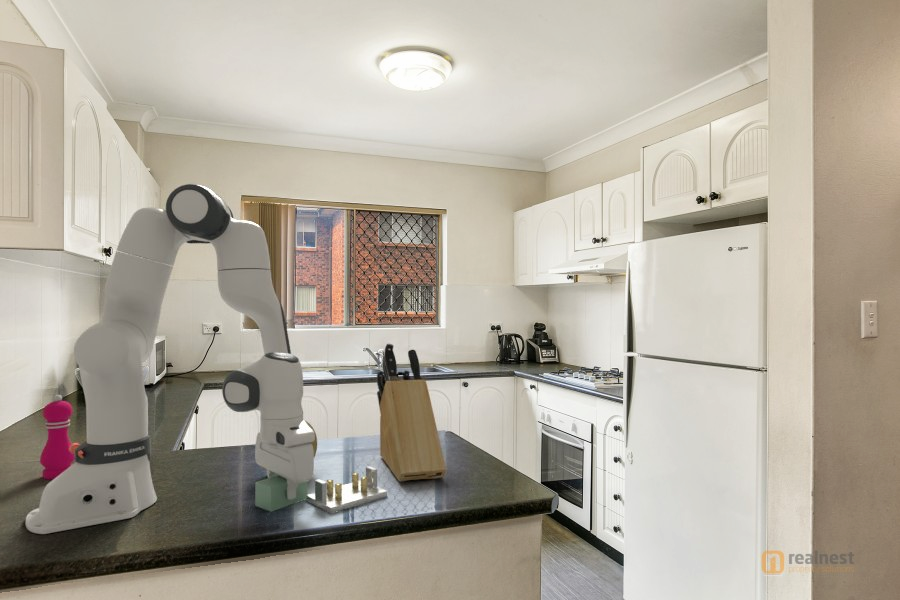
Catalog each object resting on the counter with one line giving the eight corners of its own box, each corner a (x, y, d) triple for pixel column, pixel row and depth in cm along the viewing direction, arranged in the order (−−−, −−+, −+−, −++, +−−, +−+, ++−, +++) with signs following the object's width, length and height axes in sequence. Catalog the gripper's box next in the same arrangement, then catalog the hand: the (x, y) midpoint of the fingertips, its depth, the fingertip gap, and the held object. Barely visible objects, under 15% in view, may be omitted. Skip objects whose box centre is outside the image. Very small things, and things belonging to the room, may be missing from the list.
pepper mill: (72, 468, 140) (72, 391, 140) (78, 475, 135) (78, 394, 135) (37, 475, 135) (37, 394, 135) (42, 482, 130) (42, 398, 130)
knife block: (411, 445, 161) (411, 340, 161) (447, 482, 127) (446, 351, 127) (374, 448, 158) (373, 342, 158) (400, 487, 124) (399, 352, 124)
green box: (271, 511, 110) (271, 484, 110) (255, 505, 114) (255, 479, 114) (307, 498, 118) (306, 472, 118) (291, 493, 121) (290, 468, 121)
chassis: (330, 513, 109) (330, 487, 109) (306, 500, 116) (306, 476, 116) (387, 496, 119) (387, 472, 119) (361, 485, 126) (361, 462, 126)
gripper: (247, 423, 121) (247, 485, 121) (290, 440, 106) (290, 510, 106) (274, 419, 126) (274, 478, 125) (319, 434, 111) (319, 502, 111)
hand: (282, 493), depth 116 cm, fingers closed on green box, 6 cm apart
